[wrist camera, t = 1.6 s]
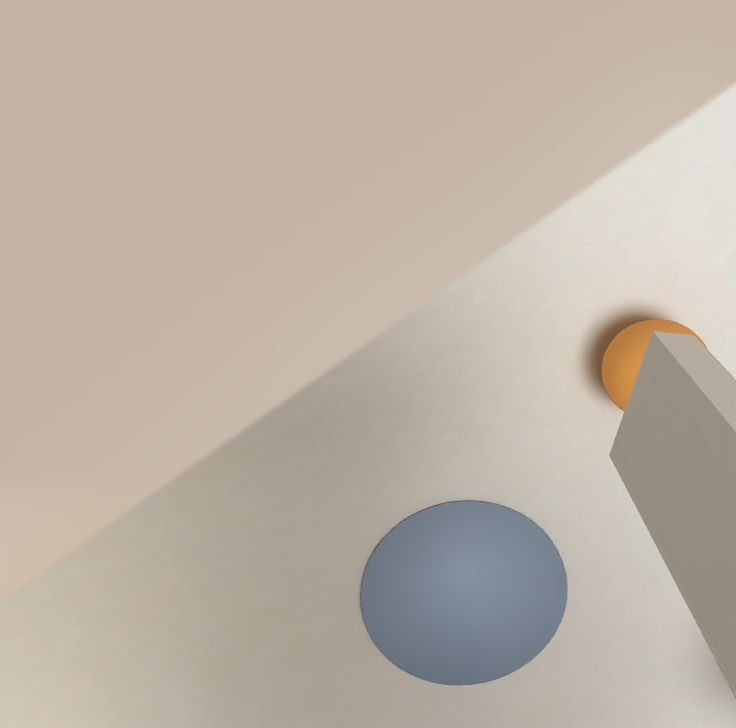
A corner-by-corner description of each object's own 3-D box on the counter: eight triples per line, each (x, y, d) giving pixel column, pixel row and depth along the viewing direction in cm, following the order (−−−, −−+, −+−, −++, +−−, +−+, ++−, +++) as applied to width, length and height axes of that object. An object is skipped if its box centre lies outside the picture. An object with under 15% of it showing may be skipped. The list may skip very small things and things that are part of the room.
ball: (702, 342, 40) (756, 366, 34) (644, 419, 41) (688, 455, 36) (625, 292, 39) (669, 310, 34) (568, 373, 40) (602, 402, 35)
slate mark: (607, 562, 43) (608, 564, 43) (491, 713, 46) (492, 716, 46) (432, 463, 41) (433, 464, 41) (322, 627, 44) (322, 629, 44)
